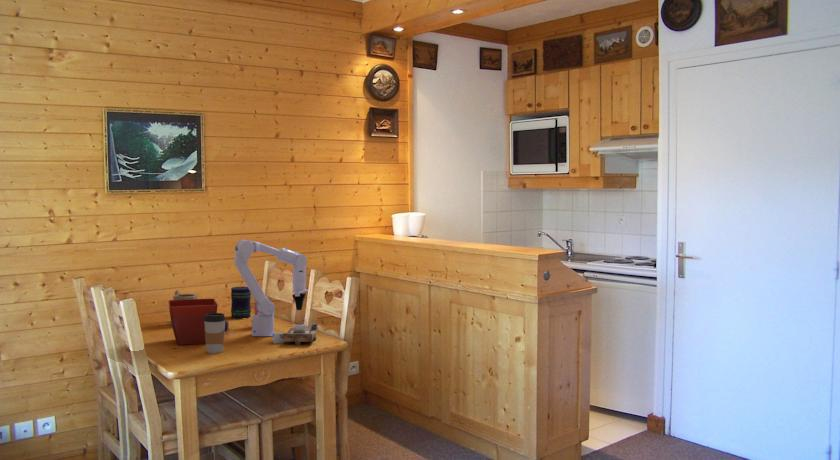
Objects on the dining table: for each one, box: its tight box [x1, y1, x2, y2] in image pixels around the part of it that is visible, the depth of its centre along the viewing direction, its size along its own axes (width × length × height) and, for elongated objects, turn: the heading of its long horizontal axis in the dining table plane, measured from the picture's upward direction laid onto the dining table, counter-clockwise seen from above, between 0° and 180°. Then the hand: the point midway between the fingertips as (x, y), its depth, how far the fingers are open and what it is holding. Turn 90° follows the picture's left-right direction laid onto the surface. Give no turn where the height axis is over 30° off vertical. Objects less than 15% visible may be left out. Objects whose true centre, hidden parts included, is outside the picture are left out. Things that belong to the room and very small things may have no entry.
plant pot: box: [167, 298, 218, 346], centre depth 298 cm, size 19×19×17 cm
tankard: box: [169, 289, 198, 326], centre depth 338 cm, size 20×13×15 cm, turn 34°
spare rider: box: [272, 331, 285, 344], centre depth 300 cm, size 4×4×4 cm
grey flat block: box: [282, 322, 319, 346], centre depth 305 cm, size 13×22×5 cm, turn 2°
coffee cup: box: [204, 312, 226, 354], centre depth 280 cm, size 8×8×15 cm
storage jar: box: [230, 286, 252, 320], centre depth 356 cm, size 10×10×15 cm
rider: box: [293, 324, 306, 333], centre depth 301 cm, size 4×4×4 cm
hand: (299, 309), depth 320 cm, fingers closed
